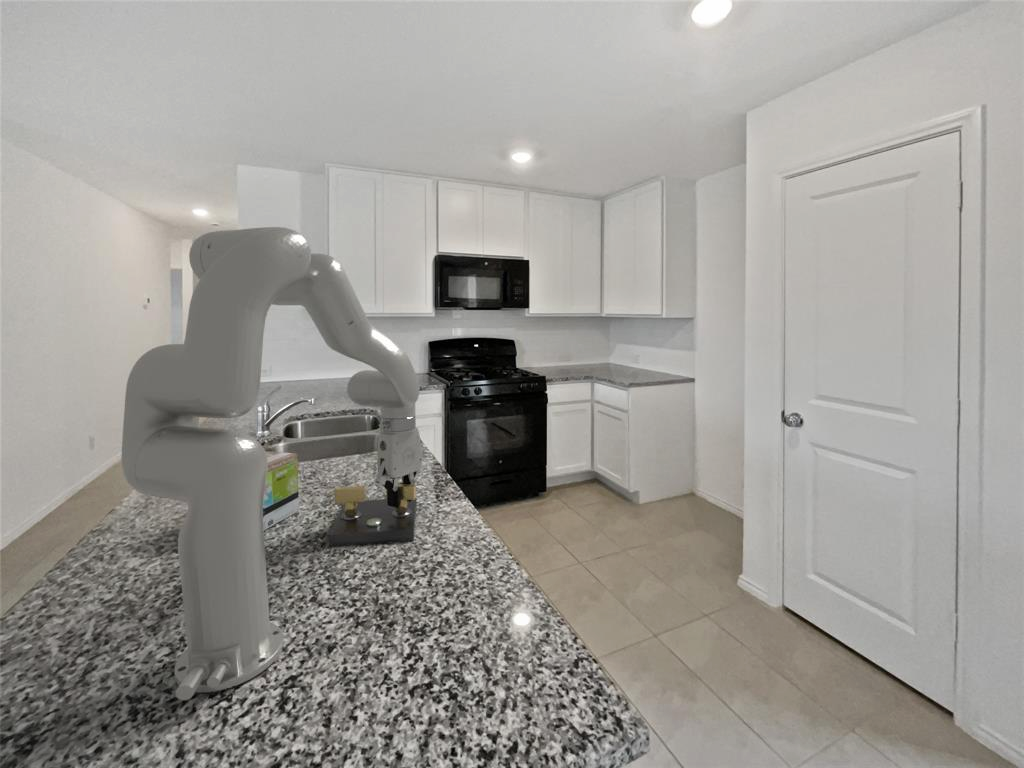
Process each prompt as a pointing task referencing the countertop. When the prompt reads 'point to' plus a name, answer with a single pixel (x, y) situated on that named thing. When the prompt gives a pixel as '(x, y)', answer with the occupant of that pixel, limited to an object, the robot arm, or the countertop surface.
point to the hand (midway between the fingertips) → (400, 502)
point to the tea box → (280, 488)
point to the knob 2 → (405, 496)
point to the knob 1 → (350, 498)
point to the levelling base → (373, 524)
